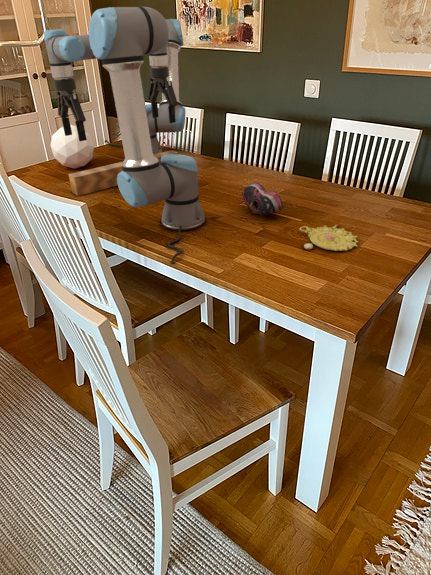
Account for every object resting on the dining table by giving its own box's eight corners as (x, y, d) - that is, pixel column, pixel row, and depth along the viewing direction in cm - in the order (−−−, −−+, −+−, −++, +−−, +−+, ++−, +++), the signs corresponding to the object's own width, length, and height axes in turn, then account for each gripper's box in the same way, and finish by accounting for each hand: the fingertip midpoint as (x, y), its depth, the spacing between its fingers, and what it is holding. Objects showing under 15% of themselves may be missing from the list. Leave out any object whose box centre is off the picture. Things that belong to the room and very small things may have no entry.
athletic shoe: (254, 181, 170) (227, 189, 167) (283, 176, 151) (253, 185, 147) (260, 210, 173) (234, 218, 170) (290, 209, 154) (261, 219, 150)
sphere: (81, 183, 214) (66, 157, 195) (51, 163, 218) (34, 136, 200) (107, 156, 219) (95, 128, 200) (77, 137, 223) (63, 108, 205)
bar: (77, 196, 181) (74, 177, 177) (72, 192, 184) (68, 174, 180) (179, 169, 207) (178, 152, 203) (172, 166, 211) (171, 150, 207)
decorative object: (343, 255, 128) (285, 234, 139) (342, 262, 130) (284, 241, 140) (372, 230, 142) (317, 213, 152) (371, 237, 143) (316, 219, 153)
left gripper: (183, 68, 177) (187, 123, 189) (150, 63, 193) (155, 113, 205) (168, 70, 173) (172, 126, 185) (136, 64, 190) (141, 116, 201)
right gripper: (87, 79, 155) (98, 141, 166) (60, 75, 172) (71, 131, 183) (67, 81, 151) (79, 144, 163) (41, 77, 168) (54, 134, 179)
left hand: (163, 119), depth 195 cm, fingers open, 13 cm apart
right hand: (75, 137), depth 173 cm, fingers open, 13 cm apart
